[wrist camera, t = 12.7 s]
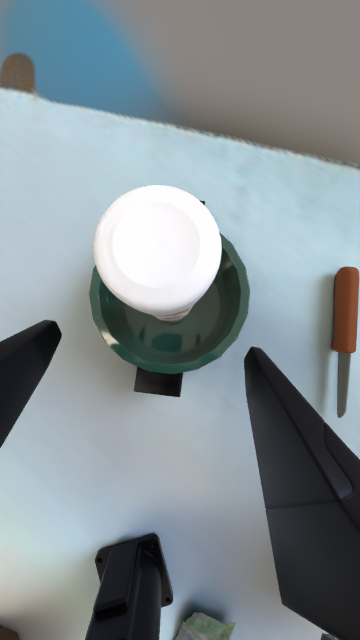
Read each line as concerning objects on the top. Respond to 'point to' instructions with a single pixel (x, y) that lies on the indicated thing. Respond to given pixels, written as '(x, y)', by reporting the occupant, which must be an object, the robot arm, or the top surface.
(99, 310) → the pot
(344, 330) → the kitchen knife
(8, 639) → the beer bottle
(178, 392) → the pot handles
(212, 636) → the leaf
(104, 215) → the sprinkles bottle
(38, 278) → the top surface
